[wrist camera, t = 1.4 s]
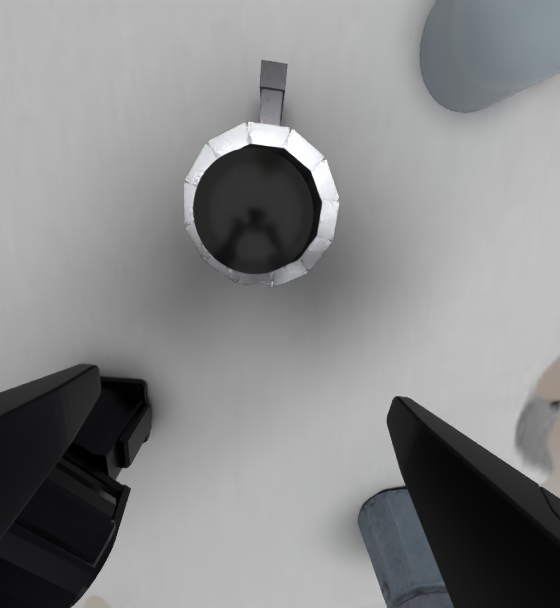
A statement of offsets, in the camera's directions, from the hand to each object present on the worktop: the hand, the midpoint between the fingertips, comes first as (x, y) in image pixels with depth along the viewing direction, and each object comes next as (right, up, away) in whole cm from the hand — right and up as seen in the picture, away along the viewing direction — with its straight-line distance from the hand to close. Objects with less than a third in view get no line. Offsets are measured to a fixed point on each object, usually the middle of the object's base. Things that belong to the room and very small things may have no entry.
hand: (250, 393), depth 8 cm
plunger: (0, +8, +7) cm, 11 cm away
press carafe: (0, +10, +10) cm, 15 cm away
